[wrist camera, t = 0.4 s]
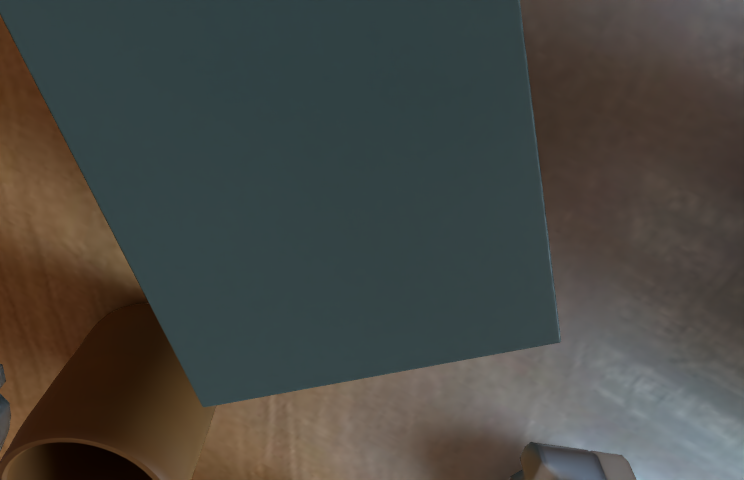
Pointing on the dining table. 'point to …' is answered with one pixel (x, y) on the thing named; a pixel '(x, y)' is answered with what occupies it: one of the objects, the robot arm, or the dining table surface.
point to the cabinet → (308, 177)
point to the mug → (114, 410)
